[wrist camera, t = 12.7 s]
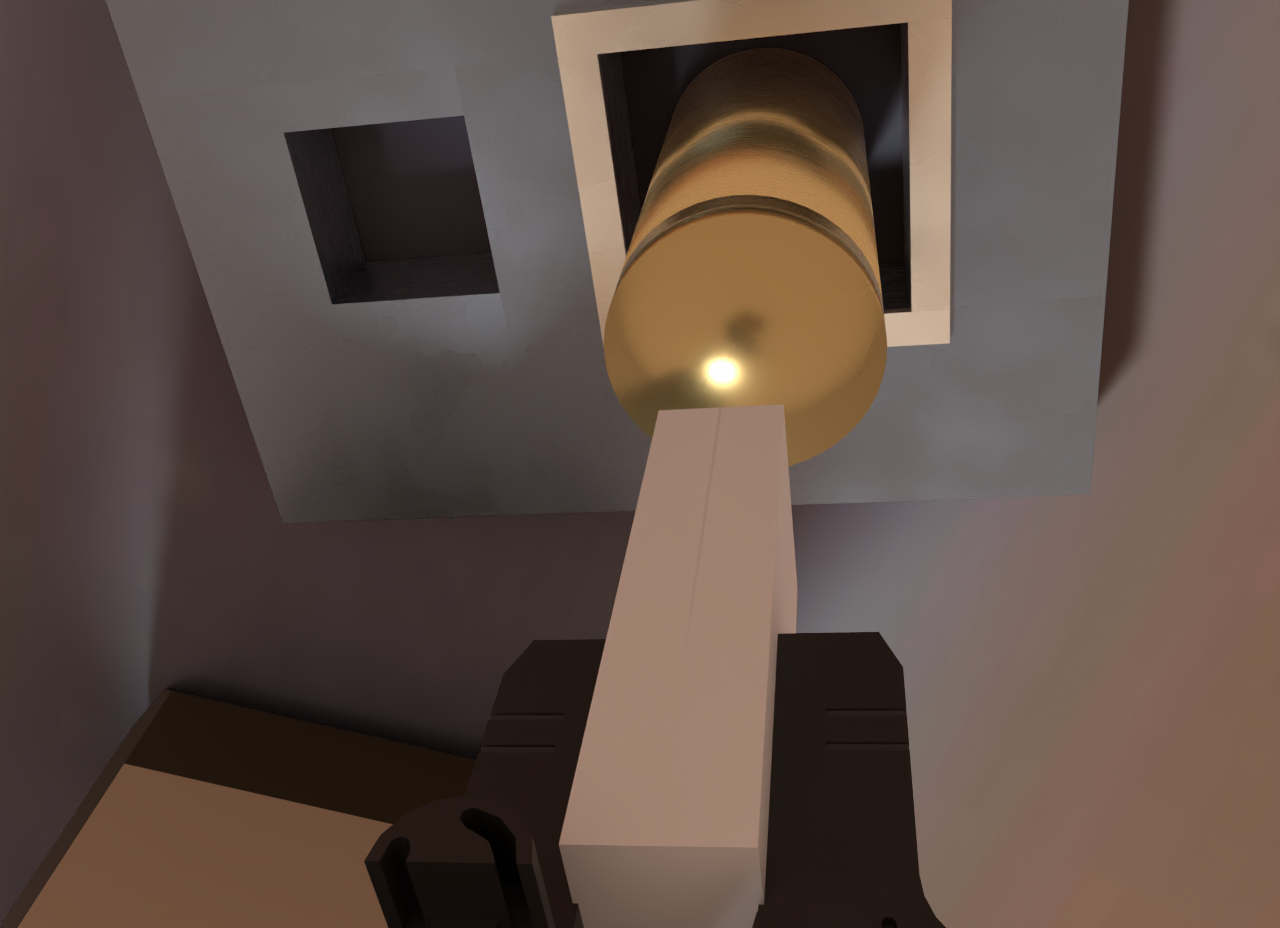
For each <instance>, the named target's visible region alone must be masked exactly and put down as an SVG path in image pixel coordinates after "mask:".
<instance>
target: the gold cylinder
mask: <svg viewBox="0 0 1280 928" xmlns="http://www.w3.org/2000/svg"><path fill="white" fill-rule="evenodd" d="M604 356H605V364H606V368H607V372H608V376H609V379H610V382H611V384H612V387H613V389H614V392H615V394H616V396H617V398H618V399H619V401H620V403H621V405H622V407H623V408H624V409H625V411H626V412H627V414H628V415H629V416H630V418H631V419H632V420H633V421H634V422H635V423H636V424H637V425H638V427H639V428H640V429H641V430H642V431H643V432H644V433H645V434H647V435H648V436H649V437H650V438H653V433H654V429H655V425H656V420H657V416H658V412H659V410H677V409H698V408H718V407H739V406H760V405H781V404H784V415H785V428H786V442H787V455H788V466H791V465H794V464H797V463H800V462H803V461H806V460H808V459H810V458H812V457H814V456H816V455H818V454H821V453H822V452H824V451H825V450H827V449H829V448H830V447H832V446H833V445H835V444H836V443H838V442H839V441H840V440H841V439H842V438H844V437H845V436H846V435H847V434H848V433H850V431H851V430H852V429H853V428H854V427H855V426H856V425H857V424H858V423H859V422H860V421H861V419H862V418H863V417H864V415H865V414H866V412H867V411H868V409H869V408H870V406H871V405H872V403H873V401H874V399H875V397H876V395H877V393H878V390H879V388H880V385H881V382H882V379H883V376H884V371H885V365H886V360H887V337H886V328H885V319H884V309H883V300H882V291H881V282H880V273H879V264H878V255H877V246H876V237H875V228H874V218H873V209H872V200H871V191H870V182H869V173H868V164H867V155H866V146H865V137H864V128H863V123H862V119H861V114H860V112H859V109H858V107H857V104H856V102H855V100H854V98H853V96H852V94H851V93H850V91H849V89H848V88H847V87H846V86H845V84H844V83H843V82H842V80H841V79H840V78H839V77H838V76H837V75H836V74H835V73H834V72H833V71H832V70H830V69H829V68H828V67H826V66H825V65H823V64H822V63H821V62H819V61H817V60H815V59H813V58H812V57H810V56H807V55H805V54H802V53H799V52H797V51H792V50H788V49H784V48H773V47H764V48H753V49H747V50H743V51H739V52H736V53H733V54H730V55H728V56H726V57H724V58H722V59H720V60H718V61H716V62H715V63H713V64H712V65H710V66H708V67H707V68H706V69H705V70H704V71H702V72H701V73H700V74H699V75H698V76H697V77H696V78H695V79H694V80H693V81H692V82H691V83H690V84H689V86H688V87H687V88H686V90H685V91H684V93H683V94H682V96H681V98H680V100H679V101H678V103H677V105H676V107H675V110H674V113H673V116H672V119H671V122H670V125H669V128H668V131H667V134H666V137H665V140H664V143H663V146H662V149H661V152H660V155H659V158H658V161H657V164H656V167H655V170H654V173H653V176H652V179H651V182H650V186H649V189H648V192H647V195H646V198H645V201H644V204H643V207H642V210H641V213H640V216H639V219H638V222H637V225H636V228H635V231H634V234H633V237H632V240H631V243H630V246H629V250H628V253H627V256H626V259H625V262H624V265H623V268H622V271H621V274H620V277H619V280H618V283H617V286H616V289H615V292H614V295H613V298H612V301H611V304H610V307H609V310H608V314H607V319H606V324H605V329H604Z"/></svg>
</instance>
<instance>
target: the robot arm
mask: <svg viewBox="0 0 1280 928" xmlns="http://www.w3.org/2000/svg"><path fill="white" fill-rule="evenodd" d="M796 617H797V574H796V561H795V548H794V535H793V521H792V508H791V495H790V481H789V468H788V455H787V442H786V428H785V415H784V404H781V405H760V406H739V407H718V408H698V409H677V410H659V412H658V416H657V420H656V425H655V429H654V433H653V438H652V442H651V446H650V451H649V455H648V459H647V464H646V468H645V472H644V477H643V481H642V485H641V490H640V494H639V498H638V503H637V507H636V511H635V516H634V520H633V524H632V529H631V533H630V538H629V542H628V546H627V551H626V555H625V559H624V564H623V568H622V572H621V577H620V581H619V585H618V590H617V594H616V598H615V603H614V607H613V611H612V616H611V620H610V624H609V629H608V633H607V637H606V639H591V640H534V641H533V642H532V643H531V644H530V645H529V647H528V648H527V649H526V650H525V651H524V652H523V653H522V654H521V656H520V657H519V658H518V659H517V660H516V661H515V662H514V663H513V665H512V666H511V667H510V668H509V669H508V670H507V671H506V672H505V674H504V675H503V678H502V681H501V684H500V687H499V691H498V694H497V697H496V700H495V703H494V706H493V709H492V712H491V715H492V716H491V721H488V724H487V727H486V730H485V734H484V737H483V740H482V743H481V753H478V755H477V758H476V761H475V764H474V767H473V770H472V773H471V777H470V780H469V783H468V786H467V789H466V792H465V795H464V796H461V797H454V798H447V799H440V800H435V801H433V802H431V803H429V804H426V805H424V806H422V807H420V808H417V809H415V810H413V811H411V812H409V813H406V814H405V815H404V816H402V817H401V818H400V819H399V820H398V821H396V822H395V823H394V824H393V825H392V826H390V827H389V828H388V829H387V830H386V831H384V832H383V833H382V834H381V835H380V836H379V838H378V839H377V841H376V843H375V844H374V846H373V847H372V849H371V851H370V852H369V854H368V855H367V857H366V859H365V860H364V863H365V865H366V868H367V871H368V874H369V876H370V879H371V882H372V885H373V887H374V890H375V893H376V896H377V898H378V901H379V904H380V907H381V909H382V912H383V915H384V918H385V920H386V923H387V926H388V928H946V927H945V926H944V925H943V924H942V923H941V922H940V921H939V920H938V919H937V918H936V916H935V915H934V913H933V911H932V909H931V907H930V905H929V904H928V902H927V900H926V898H925V896H924V893H923V889H922V884H921V880H920V876H919V865H918V853H917V840H916V827H915V814H914V802H913V789H912V776H911V763H910V751H909V738H908V725H907V716H906V700H905V687H904V674H903V667H902V665H901V664H900V662H899V661H898V659H897V658H896V656H895V655H894V654H893V652H892V651H891V649H890V648H889V646H888V645H887V643H886V642H885V640H884V639H883V638H882V636H881V635H880V633H879V632H850V633H796Z"/></svg>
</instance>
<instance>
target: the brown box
mask: <svg viewBox="0 0 1280 928" xmlns="http://www.w3.org/2000/svg"><path fill="white" fill-rule="evenodd" d="M475 761H476V759H475V758H471V757H466V756H462V755H457V754H453V753H449V752H444V751H440V750H435V749H431V748H426V747H422V746H418V745H413V744H409V743H404V742H400V741H395V740H391V739H387V738H382V737H378V736H373V735H369V734H364V733H360V732H356V731H351V730H347V729H342V728H338V727H333V726H329V725H325V724H320V723H316V722H311V721H307V720H302V719H298V718H294V717H289V716H285V715H280V714H276V713H271V712H267V711H263V710H258V709H254V708H249V707H245V706H240V705H236V704H232V703H227V702H223V701H218V700H214V699H209V698H205V697H201V696H196V695H192V694H187V693H183V692H178V691H174V690H170V689H164V690H163V692H162V693H161V694H160V695H159V696H158V698H157V699H156V700H155V701H154V702H153V703H152V705H151V706H150V707H149V708H148V709H147V711H146V712H145V713H144V714H143V715H142V717H141V718H140V719H139V720H138V721H137V722H136V724H135V725H134V726H133V727H132V728H131V730H130V731H129V733H128V734H127V736H126V737H125V739H124V740H123V742H122V744H121V745H120V747H119V748H118V750H117V751H116V753H115V754H114V756H113V757H112V759H111V760H110V762H109V763H108V765H107V766H106V768H105V769H104V771H103V772H102V774H101V775H100V777H99V778H98V780H97V781H96V783H95V784H94V786H93V787H92V789H91V790H90V792H89V793H88V795H87V796H86V798H85V799H84V801H83V802H82V804H81V805H80V807H79V808H78V810H77V811H76V813H75V814H74V816H73V817H72V819H71V820H70V822H69V823H68V825H67V826H66V828H65V829H64V831H63V832H62V834H61V835H60V837H59V838H58V840H57V841H56V843H55V844H54V846H53V847H52V849H51V850H50V852H49V853H48V855H47V856H46V858H45V859H44V861H43V862H42V864H41V865H40V867H39V868H38V870H37V871H36V873H35V874H34V876H33V877H32V879H31V880H30V882H29V883H28V885H27V886H26V888H25V889H24V891H23V892H22V894H21V895H20V897H19V898H18V900H17V901H16V903H15V904H14V906H13V907H12V909H11V910H10V912H9V913H8V915H7V916H6V918H5V919H4V921H3V922H2V924H1V925H0V928H388V926H387V923H386V920H385V918H384V915H383V912H382V909H381V907H380V904H379V901H378V898H377V896H376V893H375V890H374V887H373V885H372V882H371V879H370V876H369V874H368V871H367V868H366V865H365V863H364V860H365V859H366V857H367V855H368V854H369V852H370V851H371V849H372V847H373V846H374V844H375V843H376V841H377V839H378V838H379V836H380V835H381V834H382V833H383V832H384V831H386V830H387V829H388V828H389V827H390V826H392V825H393V824H394V823H395V822H396V821H398V820H399V819H400V818H401V817H402V816H404V815H405V814H406V813H409V812H411V811H413V810H415V809H417V808H420V807H422V806H424V805H426V804H429V803H431V802H433V801H435V800H440V799H447V798H454V797H461V796H464V795H465V792H466V789H467V786H468V783H469V780H470V777H471V773H472V770H473V767H474V764H475Z"/></svg>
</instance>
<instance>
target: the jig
mask: <svg viewBox="0 0 1280 928" xmlns="http://www.w3.org/2000/svg"><path fill="white" fill-rule="evenodd" d="M106 3H107V6H108V9H109V12H110V15H111V18H112V21H113V24H114V27H115V30H116V33H117V36H118V39H119V42H120V45H121V48H122V51H123V54H124V56H125V59H126V62H127V65H128V68H129V71H130V74H131V77H132V80H133V83H134V86H135V89H136V92H137V95H138V98H139V101H140V104H141V107H142V110H143V113H144V115H145V118H146V121H147V124H148V127H149V130H150V133H151V136H152V139H153V142H154V145H155V148H156V151H157V154H158V157H159V160H160V163H161V166H162V169H163V171H164V174H165V177H166V180H167V183H168V186H169V189H170V192H171V195H172V198H173V201H174V204H175V207H176V210H177V213H178V216H179V219H180V222H181V225H182V228H183V230H184V233H185V236H186V239H187V242H188V245H189V248H190V251H191V254H192V257H193V260H194V263H195V266H196V269H197V272H198V275H199V278H200V281H201V284H202V287H203V289H204V292H205V295H206V298H207V301H208V304H209V307H210V310H211V313H212V316H213V319H214V322H215V325H216V328H217V331H218V334H219V337H220V340H221V343H222V346H223V348H224V351H225V354H226V357H227V360H228V363H229V366H230V369H231V372H232V375H233V378H234V381H235V384H236V387H237V390H238V393H239V396H240V399H241V402H242V405H243V407H244V410H245V413H246V416H247V419H248V422H249V425H250V428H251V431H252V434H253V437H254V440H255V443H256V446H257V449H258V452H259V455H260V458H261V461H262V464H263V466H264V469H265V472H266V475H267V478H268V481H269V484H270V487H271V490H272V493H273V496H274V499H275V502H276V505H277V508H278V511H279V514H280V517H281V520H282V522H283V523H307V522H335V521H362V520H390V519H418V518H446V517H474V516H502V515H529V514H557V513H585V512H613V511H636V507H637V503H638V498H639V494H640V490H641V485H642V481H643V477H644V472H645V468H646V464H647V459H648V455H649V451H650V446H651V442H652V438H650V437H649V436H648V435H647V434H645V433H644V432H643V431H642V430H641V429H640V428H639V427H638V425H637V424H636V423H635V422H634V421H633V420H632V419H631V418H630V416H629V415H628V414H627V412H626V411H625V409H624V408H623V407H622V405H621V403H620V401H619V399H618V398H617V396H616V394H615V392H614V389H613V387H612V384H611V382H610V379H609V376H608V372H607V368H606V364H605V356H604V329H605V324H606V319H607V314H608V310H609V307H610V304H611V301H612V298H613V295H614V292H615V289H616V286H617V283H618V280H619V277H620V274H621V271H622V268H623V265H624V262H625V259H626V256H627V253H628V250H629V246H630V243H631V240H632V237H633V234H634V231H635V228H636V225H637V222H638V219H639V216H640V213H641V206H640V198H639V191H638V183H637V176H636V168H635V160H634V153H633V145H632V138H631V130H630V123H629V115H628V107H627V100H626V92H625V85H624V77H623V70H622V62H621V54H620V52H623V51H632V50H642V49H652V48H662V47H672V46H681V45H691V44H701V43H711V42H720V41H730V40H740V39H750V38H760V37H769V36H779V35H789V34H799V33H809V32H818V31H828V30H838V29H848V28H858V27H867V26H877V25H887V24H897V23H901V80H902V146H903V213H904V263H891V264H879V273H880V282H881V291H882V300H883V309H884V319H885V328H886V337H887V360H886V365H885V371H884V376H883V379H882V382H881V385H880V388H879V390H878V393H877V395H876V397H875V399H874V401H873V403H872V405H871V406H870V408H869V409H868V411H867V412H866V414H865V415H864V417H863V418H862V419H861V421H860V422H859V423H858V424H857V425H856V426H855V427H854V428H853V429H852V430H851V431H850V433H848V434H847V435H846V436H845V437H844V438H842V439H841V440H840V441H839V442H838V443H836V444H835V445H833V446H832V447H830V448H829V449H827V450H825V451H824V452H822V453H821V454H818V455H816V456H814V457H812V458H810V459H808V460H806V461H803V462H800V463H797V464H794V465H791V466H788V468H789V481H790V495H791V505H808V504H836V503H864V502H891V501H919V500H947V499H975V498H1003V497H1031V496H1058V495H1086V494H1090V492H1091V479H1092V466H1093V453H1094V441H1095V428H1096V415H1097V402H1098V389H1099V377H1100V364H1101V351H1102V338H1103V325H1104V313H1105V300H1106V287H1107V274H1108V261H1109V249H1110V236H1111V223H1112V210H1113V197H1114V185H1115V172H1116V159H1117V146H1118V133H1119V121H1120V108H1121V95H1122V82H1123V69H1124V57H1125V44H1126V31H1127V18H1128V5H1129V0H106ZM453 116H464V118H465V123H466V128H467V133H468V138H469V143H470V148H471V153H472V158H473V163H474V168H475V173H476V178H477V182H478V187H479V192H480V197H481V202H482V207H483V212H484V217H485V222H486V227H487V232H488V237H489V242H490V247H491V252H492V253H479V254H466V255H452V256H439V257H426V258H412V259H399V260H385V261H372V262H366V260H365V256H364V252H363V248H362V245H361V241H360V237H359V233H358V229H357V225H356V222H355V218H354V214H353V210H352V206H351V202H350V199H349V195H348V191H347V187H346V183H345V179H344V175H343V172H342V168H341V164H340V160H339V156H338V152H337V149H336V145H335V141H334V137H333V133H332V129H331V128H338V127H348V126H359V125H369V124H380V123H390V122H401V121H411V120H422V119H432V118H443V117H453Z"/></svg>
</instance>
